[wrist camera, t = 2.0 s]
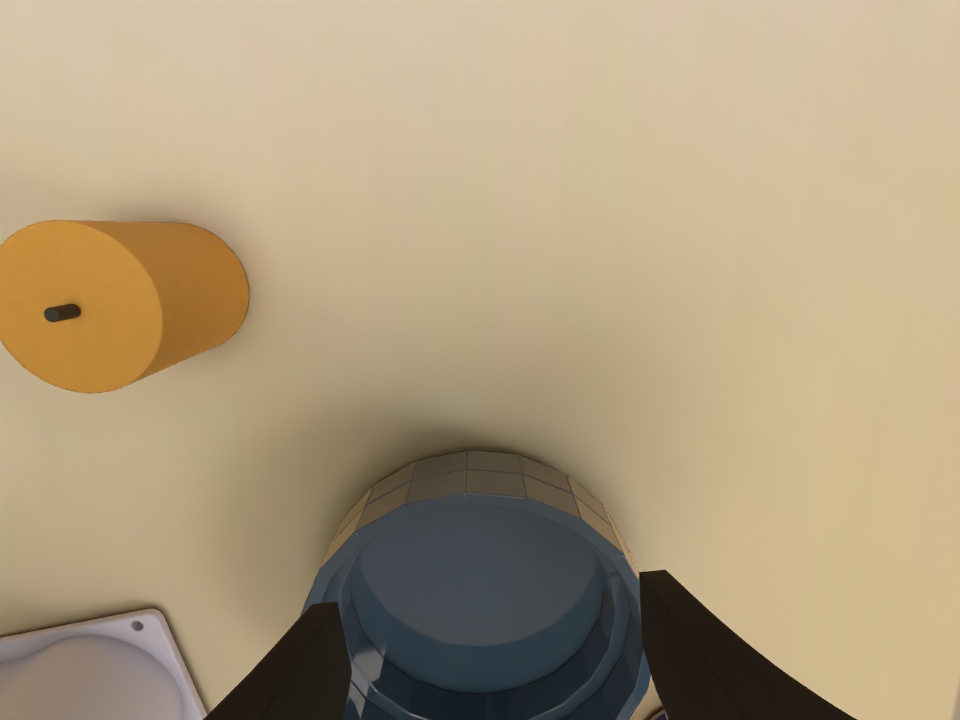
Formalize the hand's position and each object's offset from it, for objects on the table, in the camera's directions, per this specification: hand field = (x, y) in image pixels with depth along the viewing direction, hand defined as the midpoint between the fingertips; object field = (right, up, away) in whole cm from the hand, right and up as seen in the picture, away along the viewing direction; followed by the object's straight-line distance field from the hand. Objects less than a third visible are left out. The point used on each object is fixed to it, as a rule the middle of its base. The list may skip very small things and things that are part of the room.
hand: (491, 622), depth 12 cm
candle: (-11, +9, +7) cm, 16 cm away
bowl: (0, -4, +11) cm, 11 cm away
